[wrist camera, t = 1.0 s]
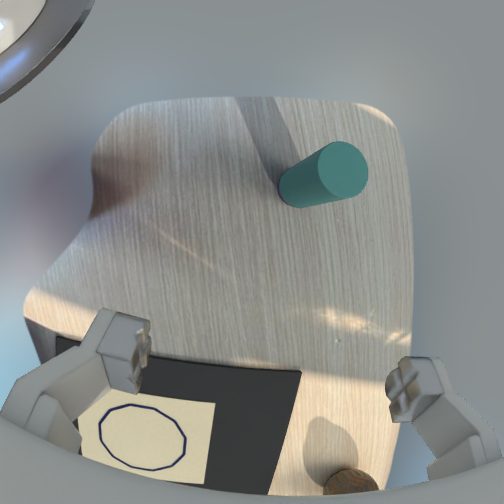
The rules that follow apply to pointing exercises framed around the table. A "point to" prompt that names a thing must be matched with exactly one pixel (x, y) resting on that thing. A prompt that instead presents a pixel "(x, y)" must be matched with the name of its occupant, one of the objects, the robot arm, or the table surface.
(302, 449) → the table surface
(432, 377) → the robot arm
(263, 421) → the desk mat
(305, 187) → the cylinder
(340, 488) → the vase
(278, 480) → the table surface
